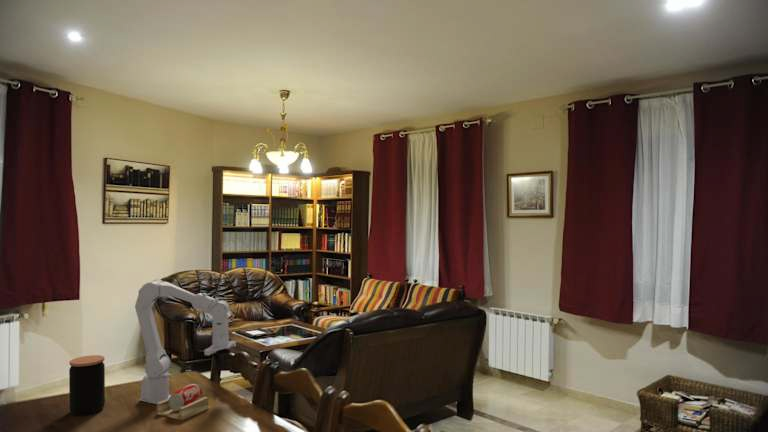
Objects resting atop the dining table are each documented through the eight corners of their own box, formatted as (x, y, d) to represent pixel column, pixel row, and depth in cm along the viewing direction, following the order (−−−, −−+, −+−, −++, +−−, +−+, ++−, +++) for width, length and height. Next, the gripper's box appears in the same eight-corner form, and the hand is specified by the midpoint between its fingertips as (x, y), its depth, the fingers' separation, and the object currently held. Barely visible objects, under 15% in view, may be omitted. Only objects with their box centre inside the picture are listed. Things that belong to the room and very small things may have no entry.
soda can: (207, 395, 184) (189, 405, 172) (192, 406, 184) (173, 417, 173) (197, 378, 185) (178, 388, 173) (182, 389, 185) (162, 399, 174)
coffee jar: (111, 407, 180) (111, 357, 180) (82, 418, 171) (82, 365, 171) (91, 403, 185) (91, 353, 185) (62, 413, 175) (62, 361, 175)
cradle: (156, 414, 174) (156, 403, 174) (183, 402, 185) (183, 392, 185) (182, 420, 169) (182, 408, 169) (208, 408, 180) (208, 397, 180)
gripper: (214, 339, 182) (215, 376, 182) (242, 330, 195) (242, 365, 195) (199, 337, 185) (200, 374, 185) (227, 328, 198) (228, 363, 198)
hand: (221, 369), depth 190 cm, fingers closed
